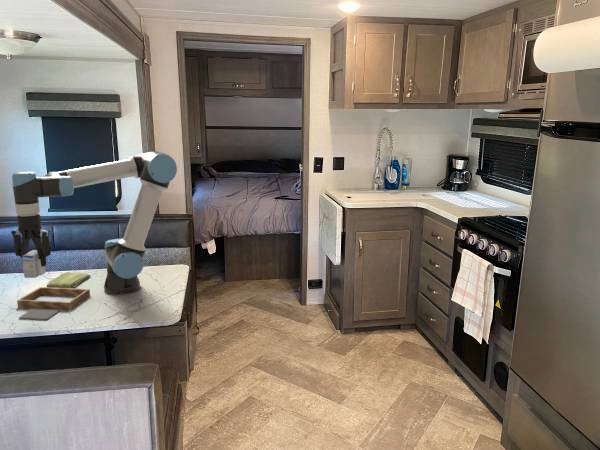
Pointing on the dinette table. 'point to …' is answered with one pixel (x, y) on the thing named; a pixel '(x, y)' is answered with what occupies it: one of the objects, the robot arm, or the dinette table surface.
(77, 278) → the washcloth
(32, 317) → the mat
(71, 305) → the wooden frame
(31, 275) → the medicine box
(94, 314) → the dinette table surface
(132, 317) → the dinette table surface
